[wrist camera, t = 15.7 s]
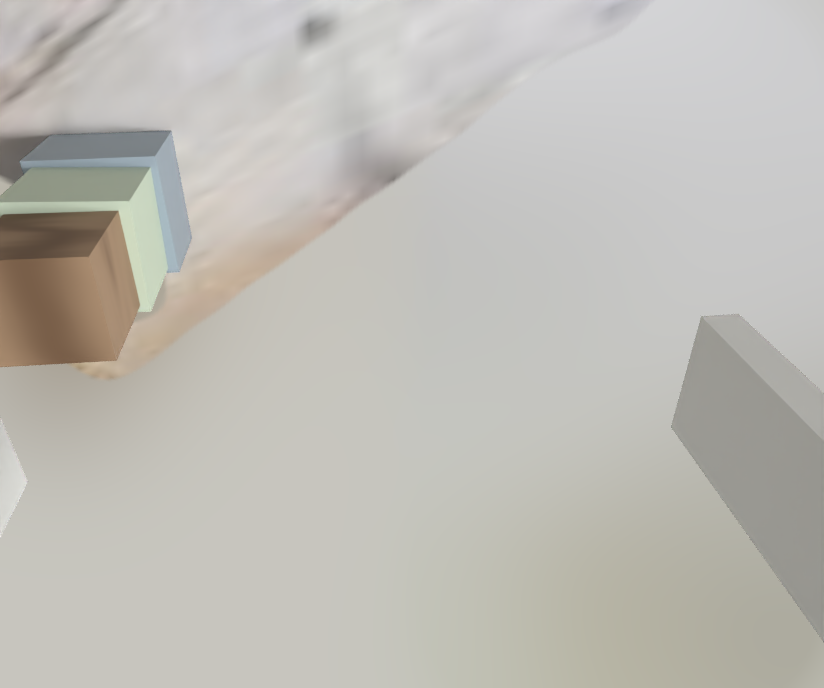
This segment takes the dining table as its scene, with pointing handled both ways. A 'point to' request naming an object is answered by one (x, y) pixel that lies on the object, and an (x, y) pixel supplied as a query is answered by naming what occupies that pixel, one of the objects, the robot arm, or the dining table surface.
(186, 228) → the slate block
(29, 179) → the sage block
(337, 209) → the dining table surface
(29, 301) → the walnut block
